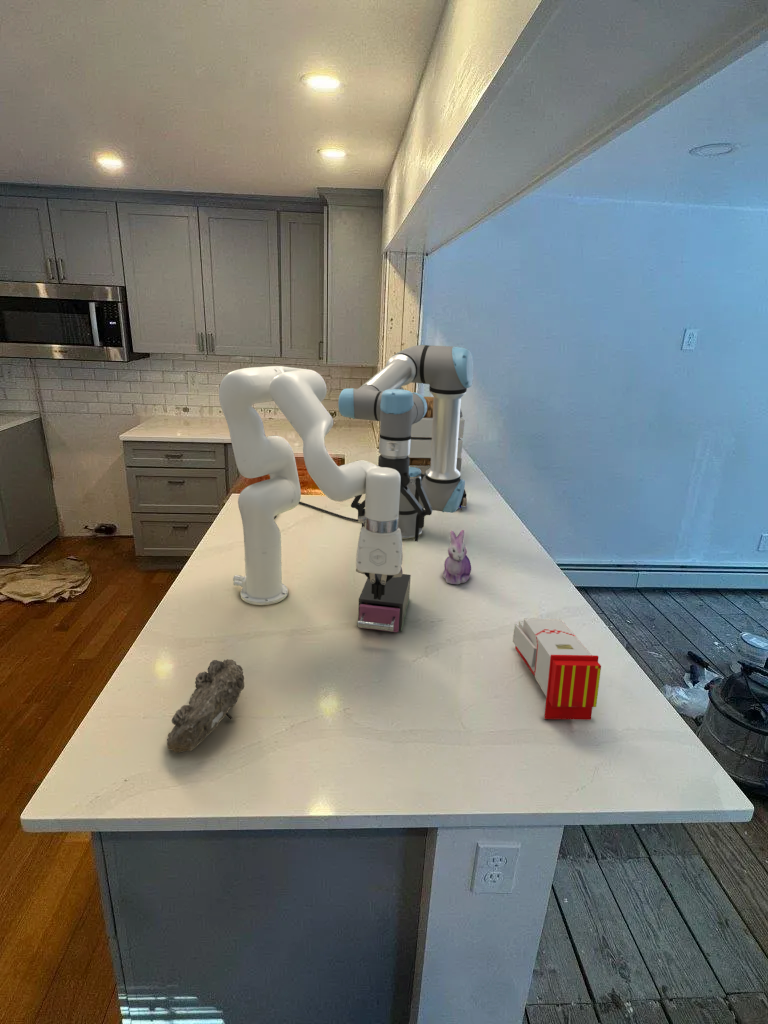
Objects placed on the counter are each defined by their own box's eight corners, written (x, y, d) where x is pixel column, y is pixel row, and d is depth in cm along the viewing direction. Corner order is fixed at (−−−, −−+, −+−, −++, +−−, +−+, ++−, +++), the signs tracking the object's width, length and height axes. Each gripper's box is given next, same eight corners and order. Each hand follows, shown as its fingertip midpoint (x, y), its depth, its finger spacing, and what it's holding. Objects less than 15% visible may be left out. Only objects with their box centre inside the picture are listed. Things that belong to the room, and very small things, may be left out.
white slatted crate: (382, 463, 289) (386, 382, 275) (445, 464, 293) (451, 384, 279) (390, 482, 257) (394, 392, 243) (460, 483, 261) (468, 394, 247)
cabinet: (401, 632, 139) (403, 603, 137) (357, 626, 141) (358, 598, 138) (409, 600, 155) (410, 574, 152) (369, 595, 156) (370, 570, 153)
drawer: (394, 644, 132) (396, 622, 130) (354, 639, 134) (354, 617, 132) (405, 602, 152) (406, 582, 149) (369, 598, 153) (370, 578, 151)
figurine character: (467, 515, 225) (461, 499, 238) (469, 498, 221) (463, 482, 235) (450, 514, 224) (445, 498, 238) (452, 497, 221) (447, 482, 234)
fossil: (192, 660, 117) (244, 628, 112) (224, 691, 120) (276, 661, 115) (142, 746, 98) (202, 712, 93) (182, 779, 101) (242, 748, 96)
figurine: (453, 588, 162) (457, 540, 157) (434, 573, 170) (437, 527, 165) (479, 582, 166) (485, 535, 161) (459, 568, 175) (464, 523, 170)
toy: (557, 603, 136) (610, 662, 107) (552, 655, 139) (602, 726, 109) (507, 602, 136) (546, 661, 106) (503, 654, 138) (540, 725, 109)
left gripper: (344, 526, 123) (343, 600, 130) (412, 532, 121) (408, 608, 128) (351, 514, 130) (350, 586, 137) (416, 520, 128) (411, 593, 135)
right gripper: (340, 454, 135) (338, 537, 142) (445, 463, 132) (438, 547, 139) (347, 447, 142) (345, 526, 149) (446, 455, 139) (440, 536, 146)
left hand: (378, 596), depth 132 cm, fingers closed
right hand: (390, 537), depth 144 cm, fingers open, 13 cm apart
